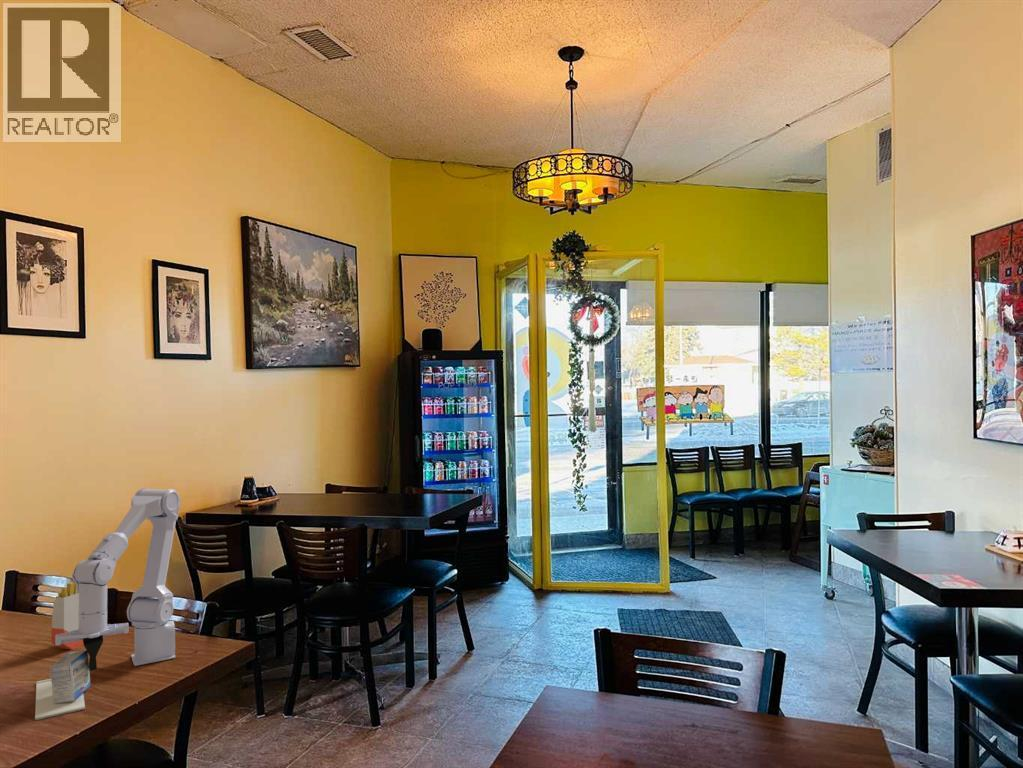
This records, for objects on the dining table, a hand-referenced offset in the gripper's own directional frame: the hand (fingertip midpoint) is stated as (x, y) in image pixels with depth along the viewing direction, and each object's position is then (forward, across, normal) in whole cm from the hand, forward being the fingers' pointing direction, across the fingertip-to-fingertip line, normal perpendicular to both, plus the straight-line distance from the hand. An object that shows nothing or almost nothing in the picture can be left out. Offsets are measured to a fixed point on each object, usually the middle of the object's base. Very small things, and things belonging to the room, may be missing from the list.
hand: (92, 669), depth 158 cm
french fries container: (+5, -2, +36) cm, 36 cm away
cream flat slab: (+5, -6, +1) cm, 8 cm away
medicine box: (+5, -4, -2) cm, 6 cm away
